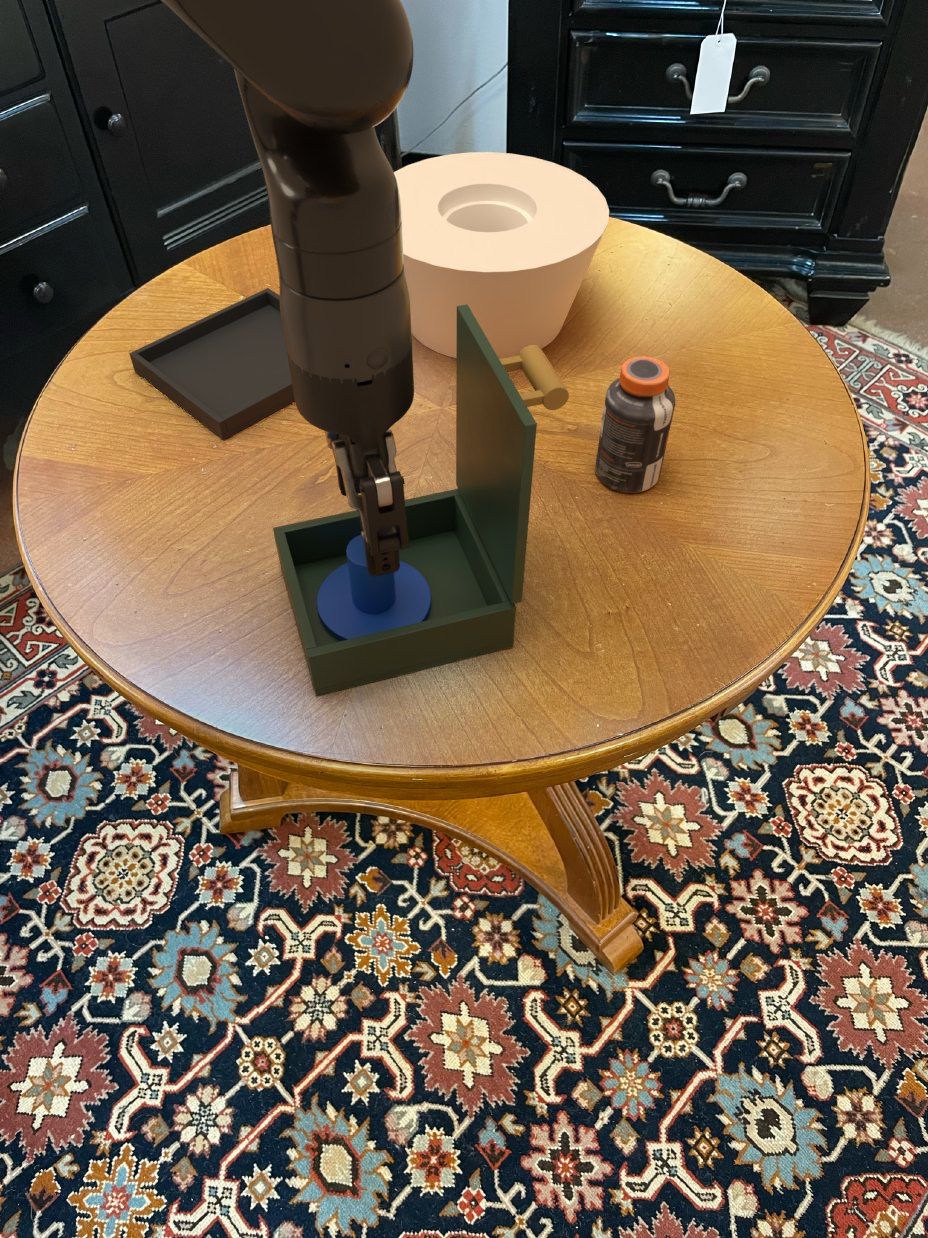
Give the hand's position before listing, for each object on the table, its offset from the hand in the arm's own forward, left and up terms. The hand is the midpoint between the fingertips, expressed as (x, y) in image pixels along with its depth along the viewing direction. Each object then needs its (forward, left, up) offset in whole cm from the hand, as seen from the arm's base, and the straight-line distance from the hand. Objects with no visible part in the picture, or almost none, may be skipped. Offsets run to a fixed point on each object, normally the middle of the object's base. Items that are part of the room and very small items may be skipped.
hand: (368, 529), depth 69 cm
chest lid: (+8, -4, +4) cm, 10 cm away
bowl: (+36, +23, -9) cm, 44 cm away
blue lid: (0, 0, -8) cm, 8 cm away
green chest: (+1, -1, -9) cm, 9 cm away
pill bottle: (+27, -4, -9) cm, 29 cm away
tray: (+12, +33, -9) cm, 37 cm away
